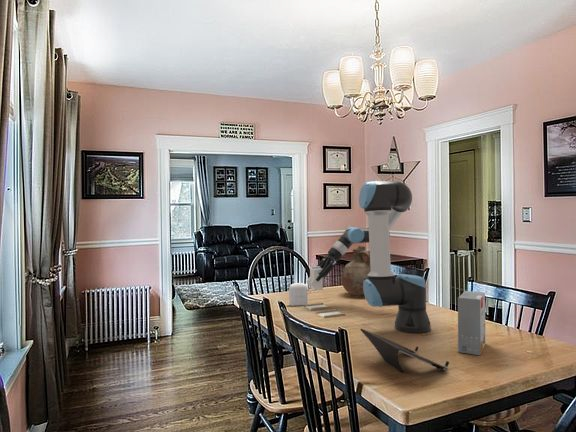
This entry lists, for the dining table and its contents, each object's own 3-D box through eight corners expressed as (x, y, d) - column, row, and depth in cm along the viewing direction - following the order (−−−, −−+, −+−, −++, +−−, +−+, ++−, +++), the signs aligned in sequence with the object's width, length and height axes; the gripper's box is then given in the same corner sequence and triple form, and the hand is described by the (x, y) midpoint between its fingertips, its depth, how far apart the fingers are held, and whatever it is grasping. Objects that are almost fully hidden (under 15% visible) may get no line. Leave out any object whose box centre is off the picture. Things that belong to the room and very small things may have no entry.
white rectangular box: (322, 289, 213) (322, 266, 213) (314, 290, 212) (313, 267, 212) (319, 288, 218) (318, 265, 218) (310, 288, 216) (309, 266, 216)
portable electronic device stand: (447, 393, 128) (457, 365, 129) (390, 371, 121) (401, 342, 122) (403, 367, 149) (412, 344, 151) (352, 347, 142) (362, 322, 144)
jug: (351, 290, 263) (350, 244, 263) (382, 293, 251) (381, 245, 250) (335, 296, 246) (334, 247, 245) (368, 300, 233) (366, 248, 233)
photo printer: (307, 303, 229) (306, 281, 229) (308, 305, 225) (308, 283, 224) (289, 304, 227) (288, 282, 227) (290, 306, 223) (289, 284, 223)
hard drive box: (481, 356, 142) (480, 299, 142) (457, 352, 146) (456, 297, 146) (486, 343, 155) (485, 291, 155) (464, 340, 160) (463, 290, 159)
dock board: (346, 317, 197) (346, 313, 197) (323, 320, 193) (323, 316, 193) (323, 306, 221) (323, 302, 221) (303, 308, 217) (303, 304, 217)
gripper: (350, 257, 211) (321, 292, 206) (334, 254, 228) (308, 286, 223) (340, 248, 209) (312, 282, 204) (325, 245, 226) (298, 277, 221)
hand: (310, 284), depth 214 cm, fingers closed on white rectangular box, 5 cm apart
